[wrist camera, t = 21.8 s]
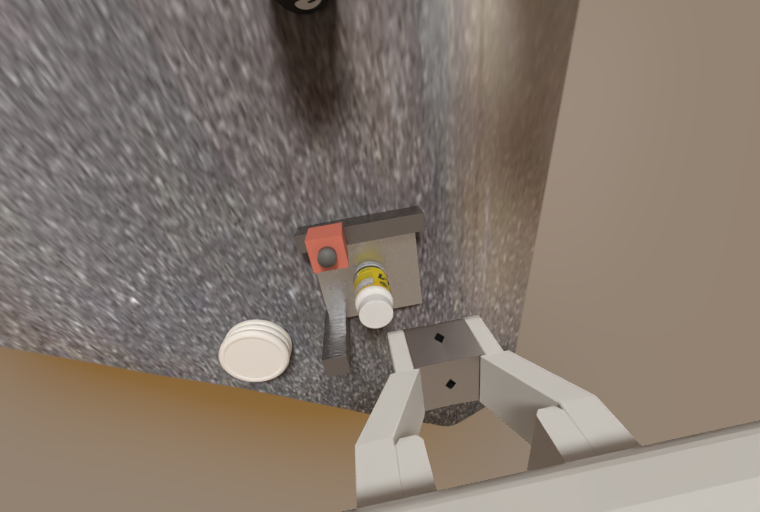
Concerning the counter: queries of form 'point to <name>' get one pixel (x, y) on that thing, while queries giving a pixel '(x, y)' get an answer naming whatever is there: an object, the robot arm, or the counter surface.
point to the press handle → (327, 247)
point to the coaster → (255, 350)
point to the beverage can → (303, 5)
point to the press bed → (365, 246)
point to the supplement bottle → (373, 296)
